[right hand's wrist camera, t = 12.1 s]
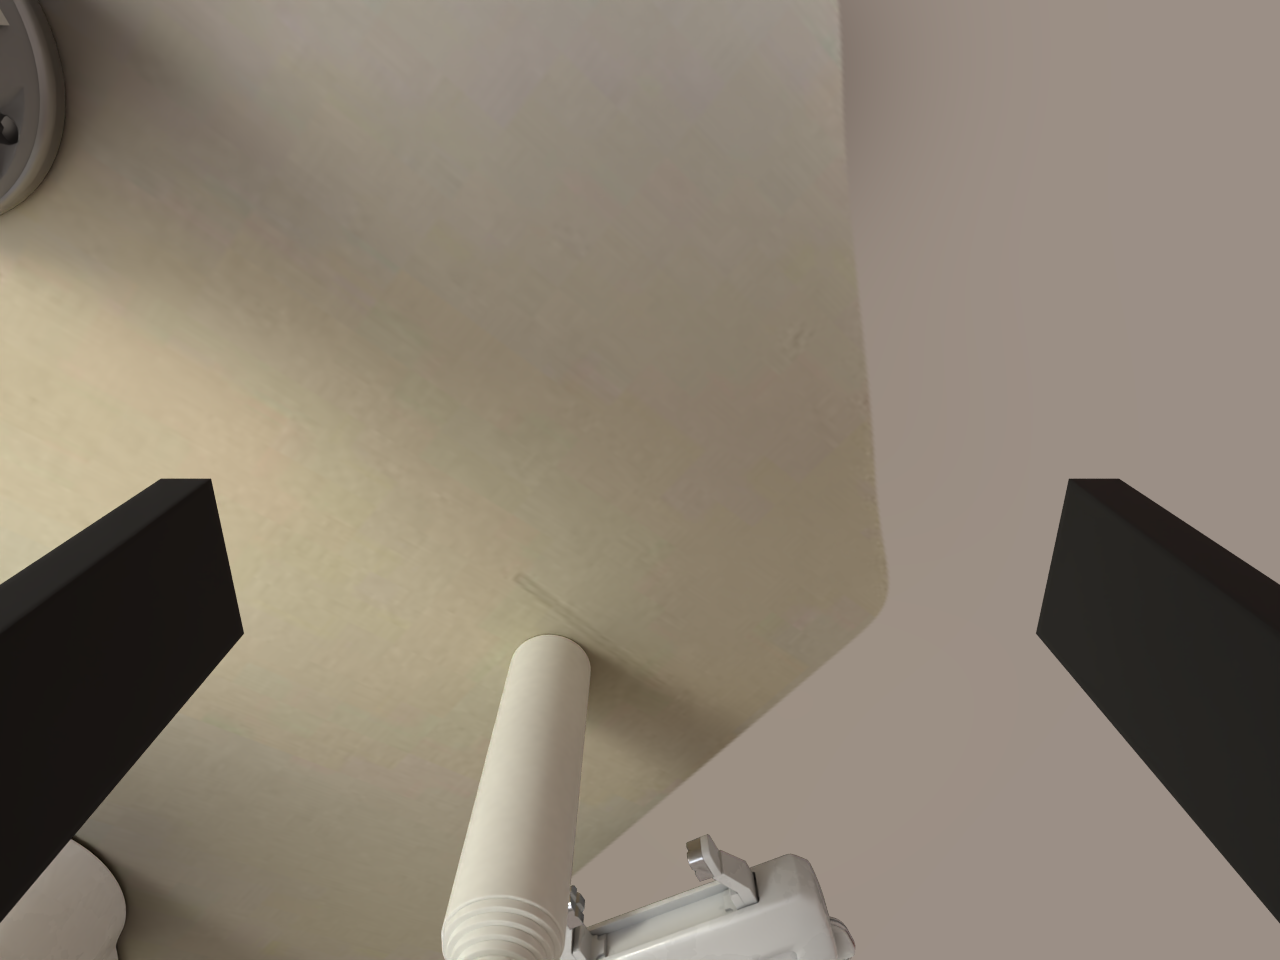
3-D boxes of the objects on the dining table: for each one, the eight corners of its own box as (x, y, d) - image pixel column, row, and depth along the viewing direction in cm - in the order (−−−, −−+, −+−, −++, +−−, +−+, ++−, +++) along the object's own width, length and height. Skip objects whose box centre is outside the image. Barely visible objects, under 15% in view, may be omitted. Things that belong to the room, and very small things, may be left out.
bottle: (534, 712, 53) (455, 1122, 30) (496, 652, 51) (382, 1039, 29) (604, 684, 52) (577, 1084, 30) (568, 622, 50) (510, 996, 28)
